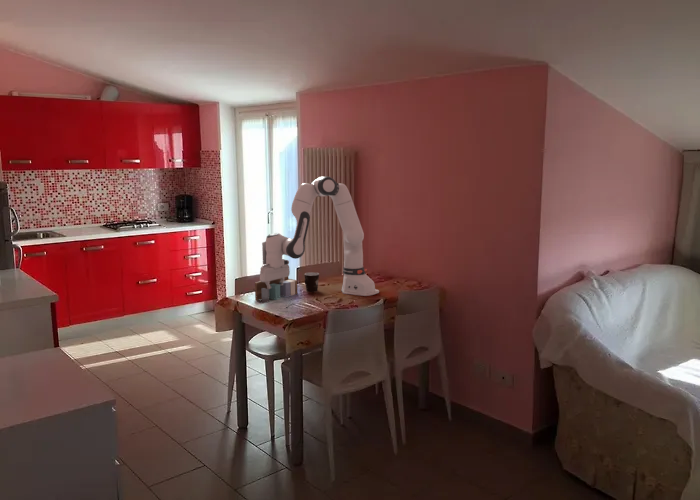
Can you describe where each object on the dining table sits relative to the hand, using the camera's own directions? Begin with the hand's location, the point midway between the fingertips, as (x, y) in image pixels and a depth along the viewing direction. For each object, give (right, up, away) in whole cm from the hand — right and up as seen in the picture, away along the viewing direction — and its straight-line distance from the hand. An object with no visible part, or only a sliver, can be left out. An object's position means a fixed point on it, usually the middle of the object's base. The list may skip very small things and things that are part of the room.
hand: (275, 287), depth 329 cm
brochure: (-4, -4, +17) cm, 18 cm away
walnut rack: (0, -6, +5) cm, 8 cm away
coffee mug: (+18, -4, +19) cm, 26 cm away
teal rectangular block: (0, -6, +1) cm, 7 cm away
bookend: (-6, -8, -6) cm, 11 cm away
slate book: (+5, -5, +8) cm, 10 cm away
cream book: (+7, -5, +11) cm, 14 cm away
